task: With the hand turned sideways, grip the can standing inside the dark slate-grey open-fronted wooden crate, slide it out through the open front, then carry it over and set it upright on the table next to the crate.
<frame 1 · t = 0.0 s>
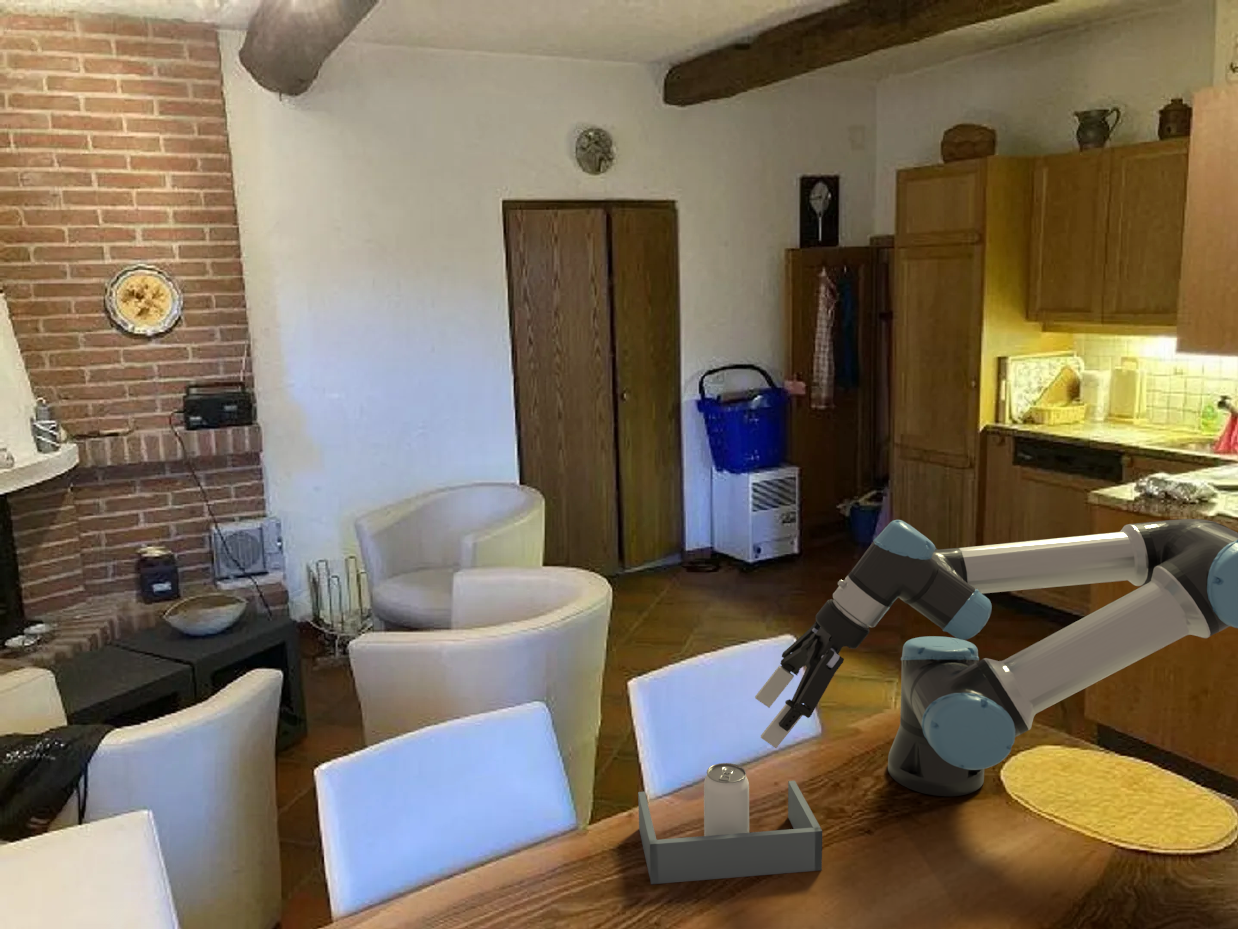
hand: (764, 721, 149), 15 cm above the table, tool tilted 35°, fingers open, 13 cm apart
crate: (726, 848, 143), on the table
can: (726, 850, 143), on the table
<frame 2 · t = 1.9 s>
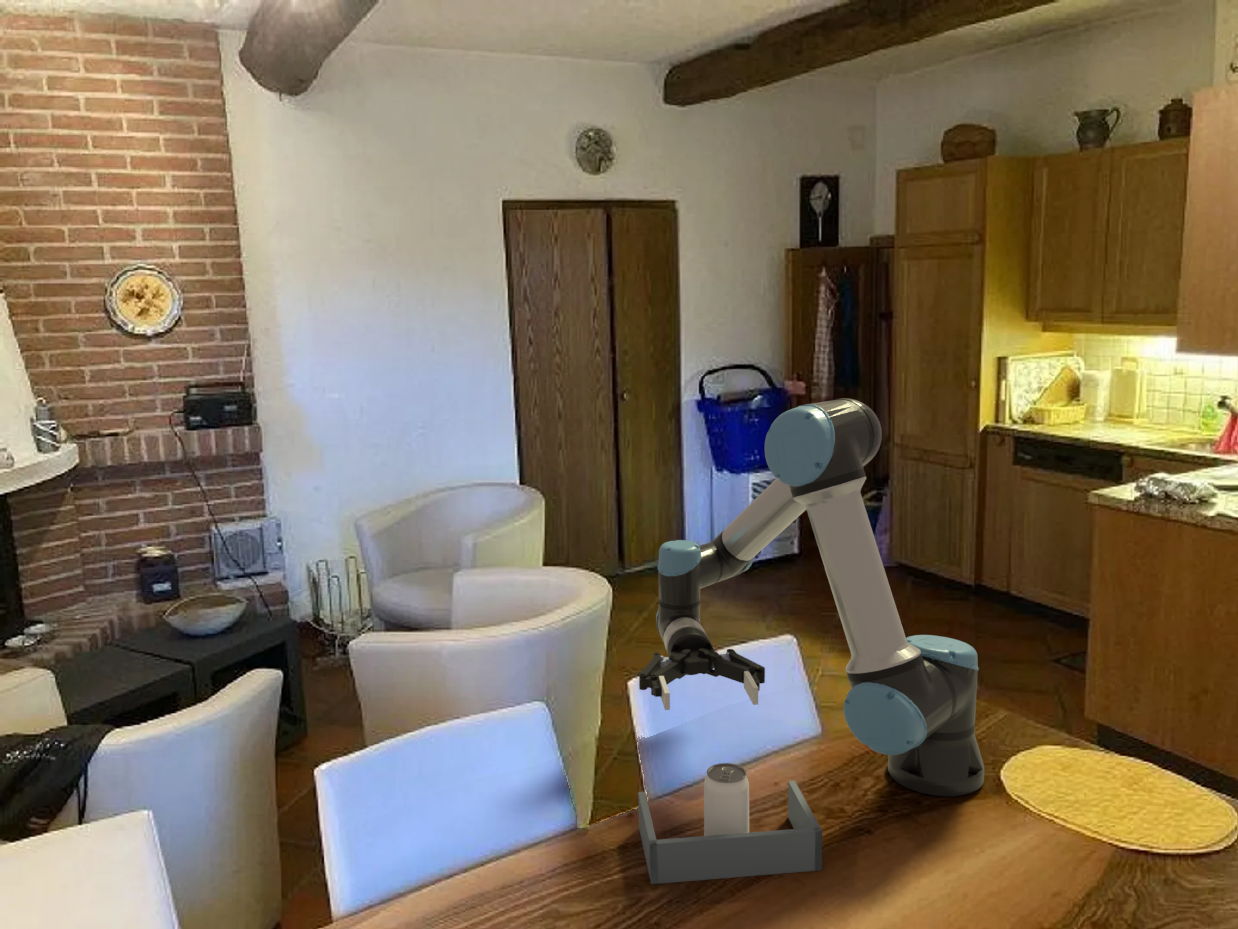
hand: (711, 699, 149), 19 cm above the table, tool horizontal, fingers open, 13 cm apart
nothing on the table moved.
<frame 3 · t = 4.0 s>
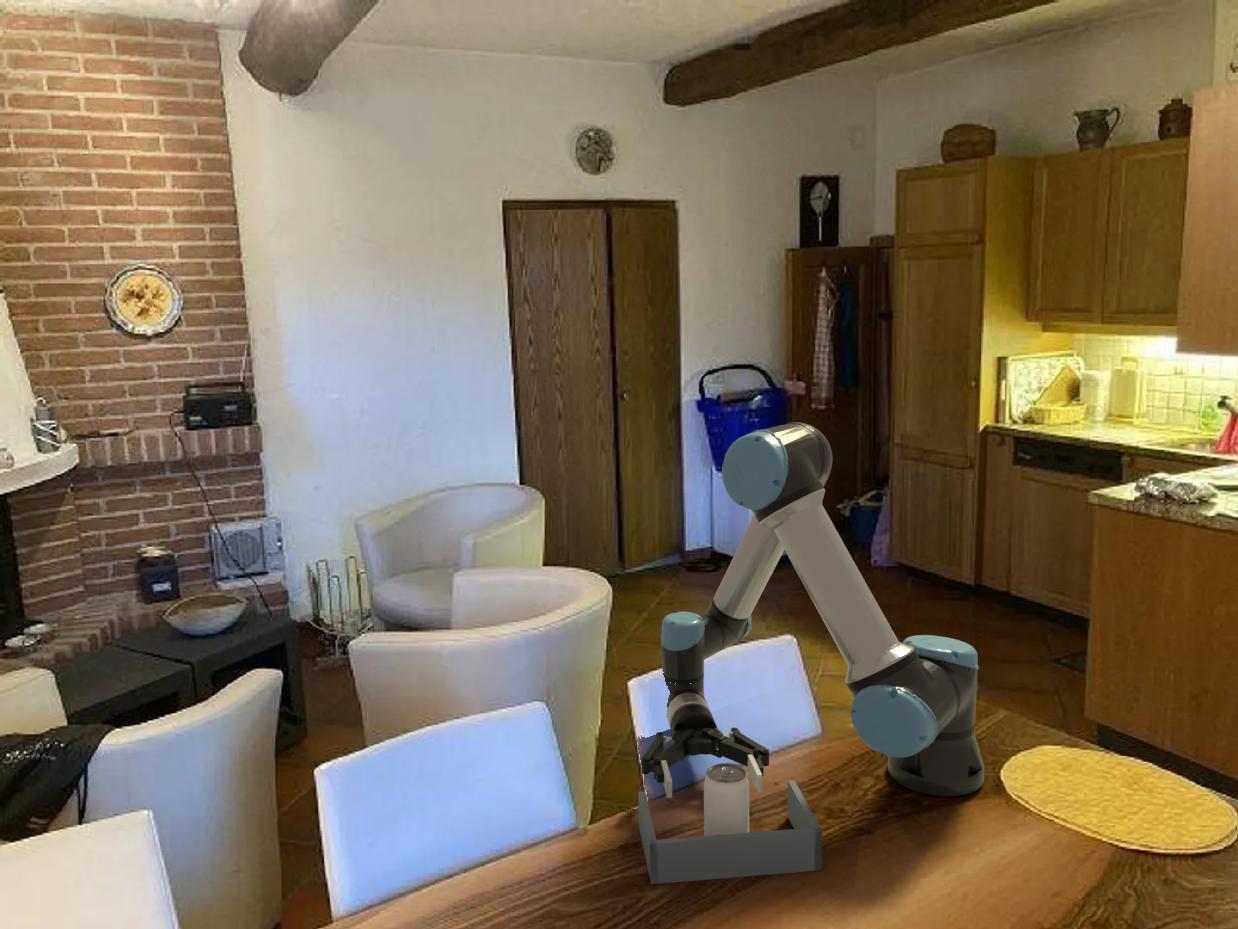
hand: (714, 786, 146), 7 cm above the table, tool horizontal, fingers open, 13 cm apart
nothing on the table moved.
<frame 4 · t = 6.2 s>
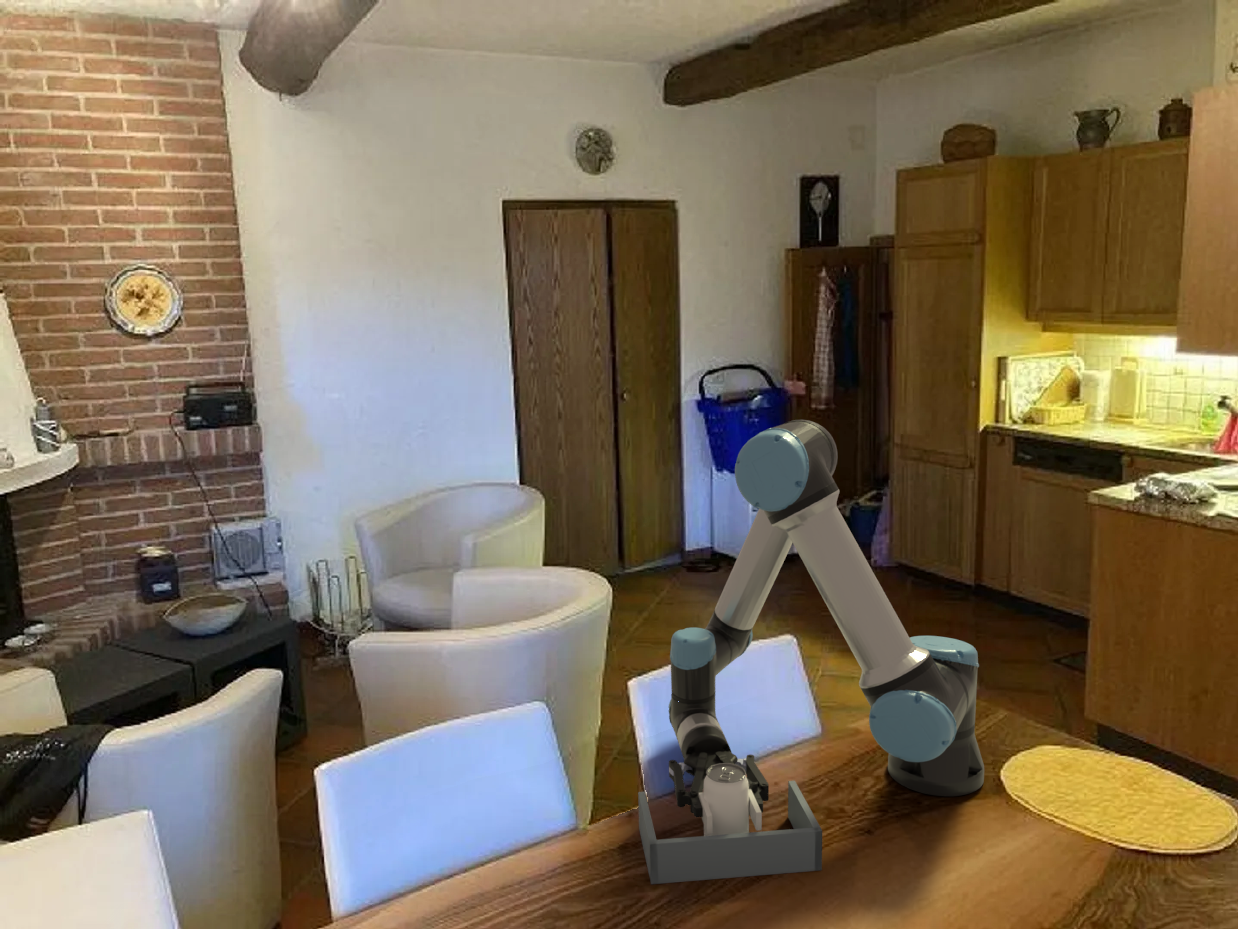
hand: (734, 823, 136), 7 cm above the table, tool horizontal, fingers closed on can, 6 cm apart
can: (726, 850, 143), on the table, touching gripper
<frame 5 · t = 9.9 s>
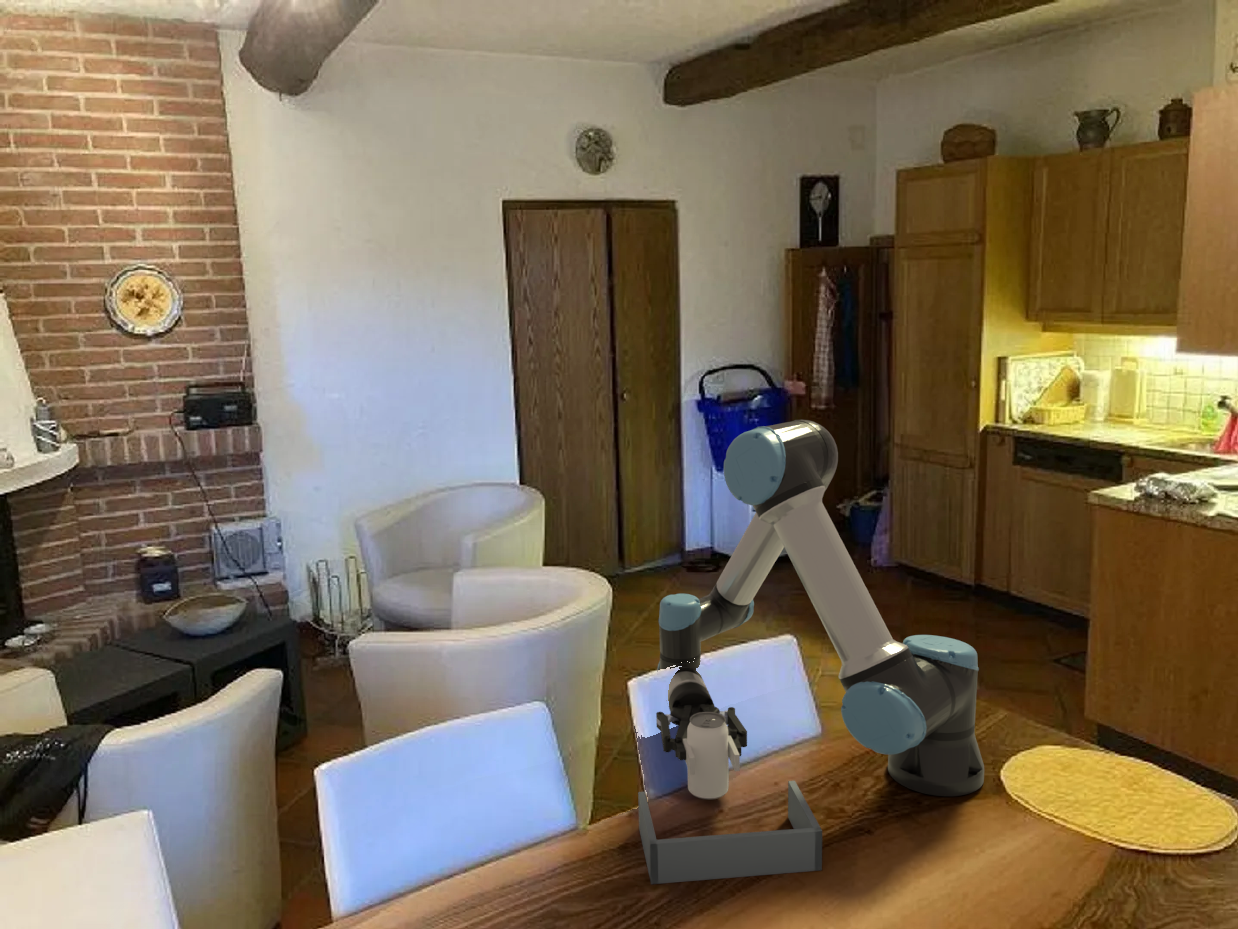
hand: (714, 764, 150), 9 cm above the table, tool horizontal, fingers closed on can, 6 cm apart
can: (708, 791, 156), point 1 cm above the table, touching gripper
when the fingers open (8 cm above the table, at t = 13.9 s): can stays where it is, on the table.
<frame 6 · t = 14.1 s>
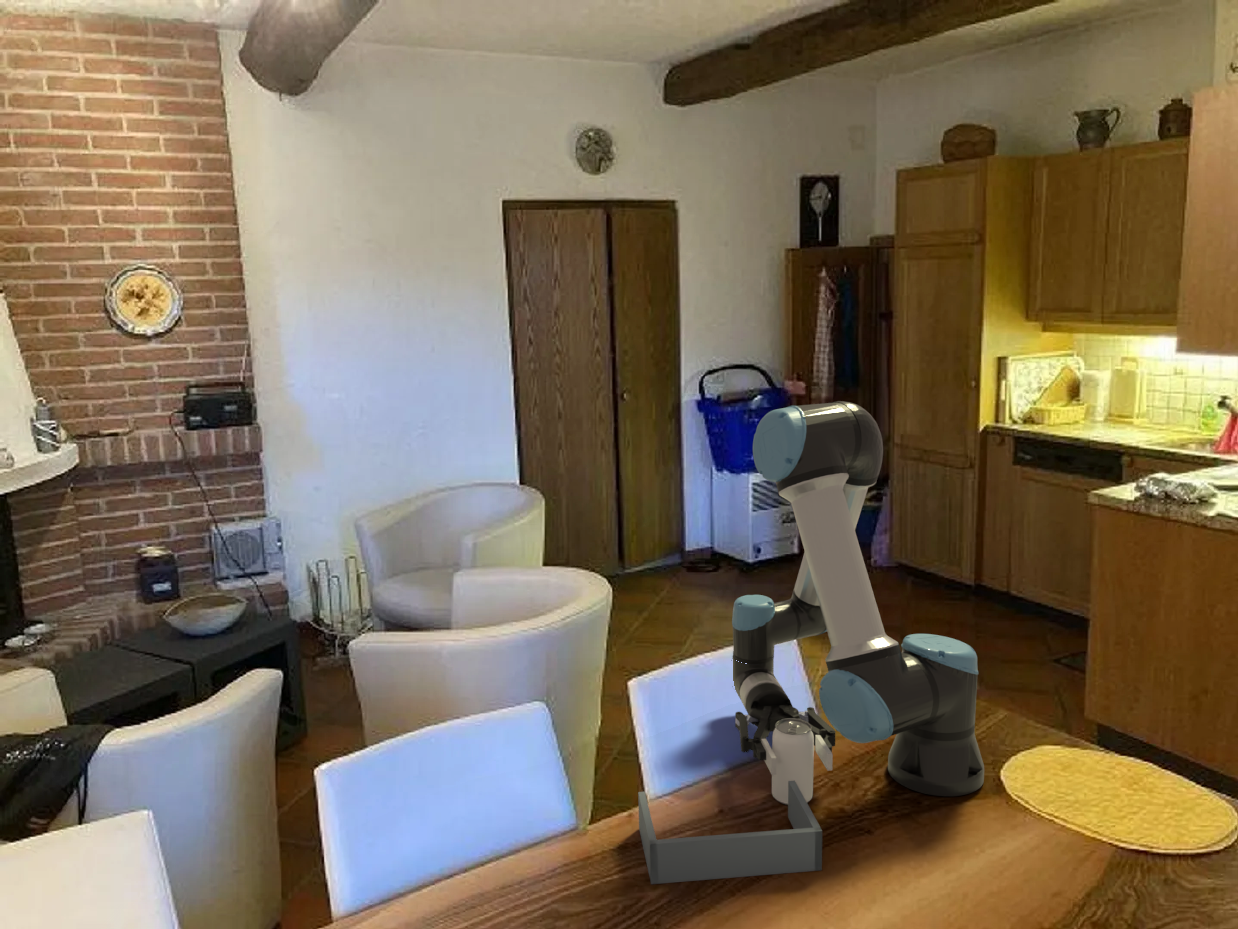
hand: (802, 764, 150), 8 cm above the table, tool horizontal, fingers open, 8 cm apart
can: (792, 797, 156), on the table
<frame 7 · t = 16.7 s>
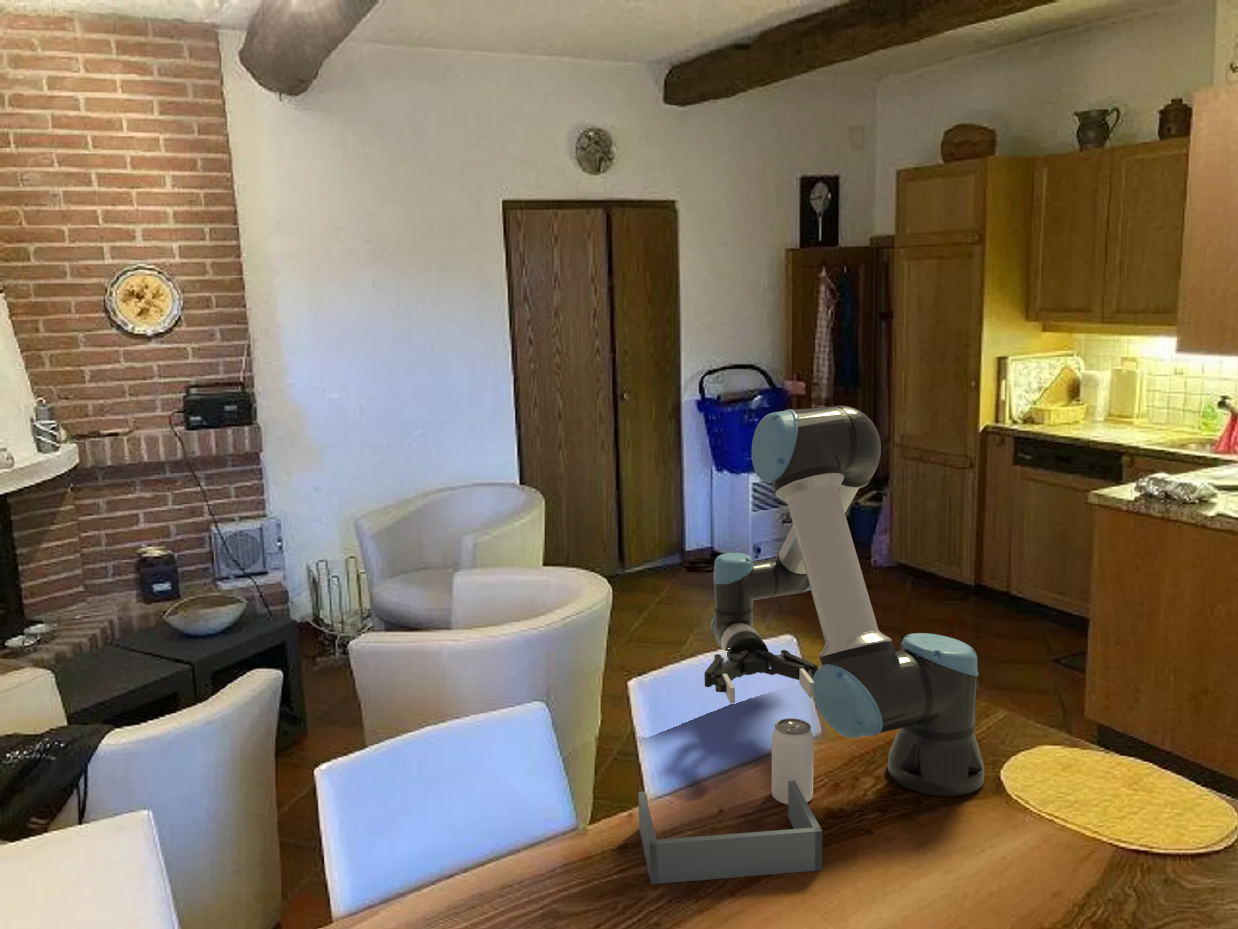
hand: (772, 693, 165), 13 cm above the table, tool horizontal, fingers open, 13 cm apart
nothing on the table moved.
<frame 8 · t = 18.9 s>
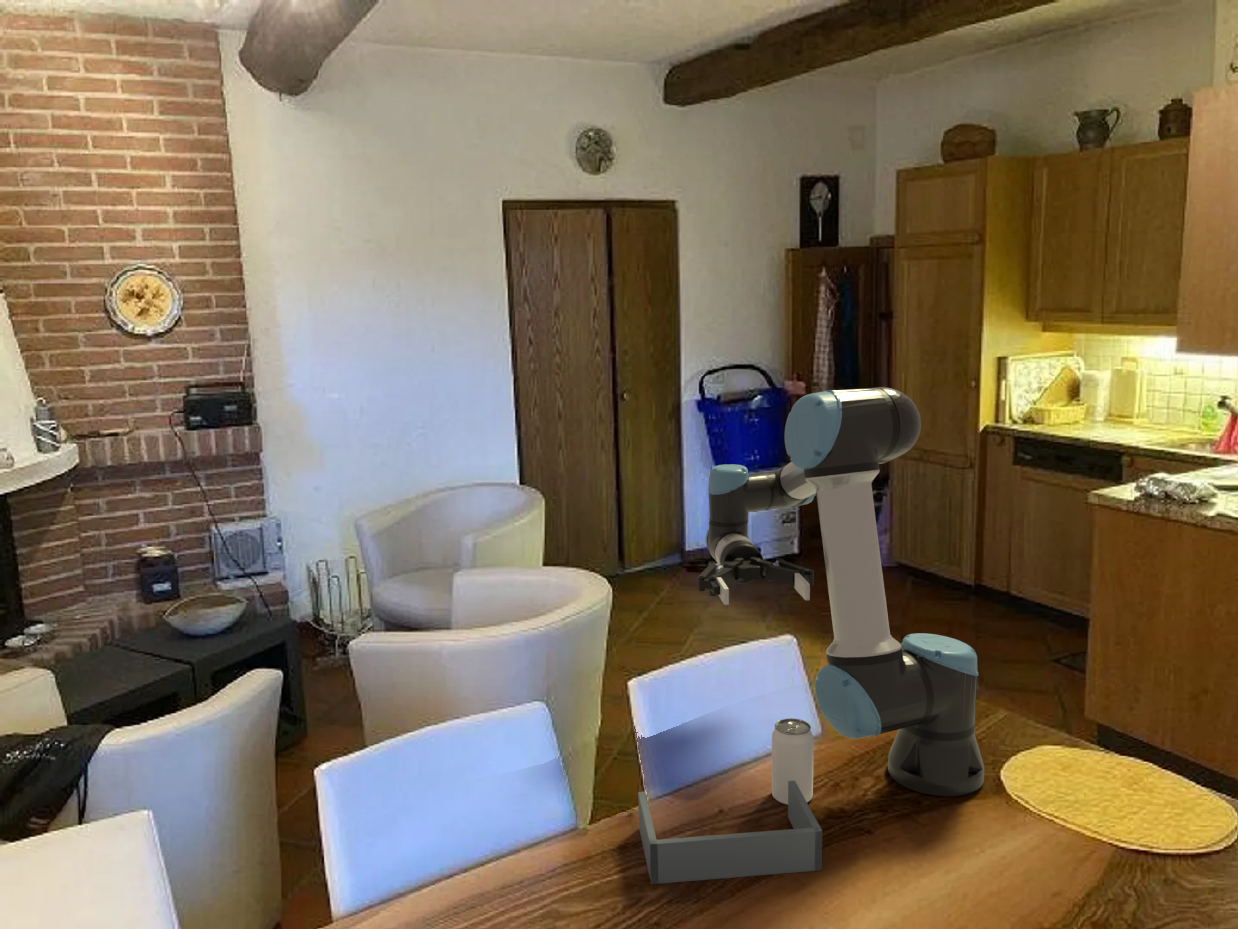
hand: (767, 594, 162), 30 cm above the table, tool horizontal, fingers open, 13 cm apart
nothing on the table moved.
at the end: can inside the target area (0.3 cm from its centre), on the table; can tilted 0°; the gripper is holding nothing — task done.
